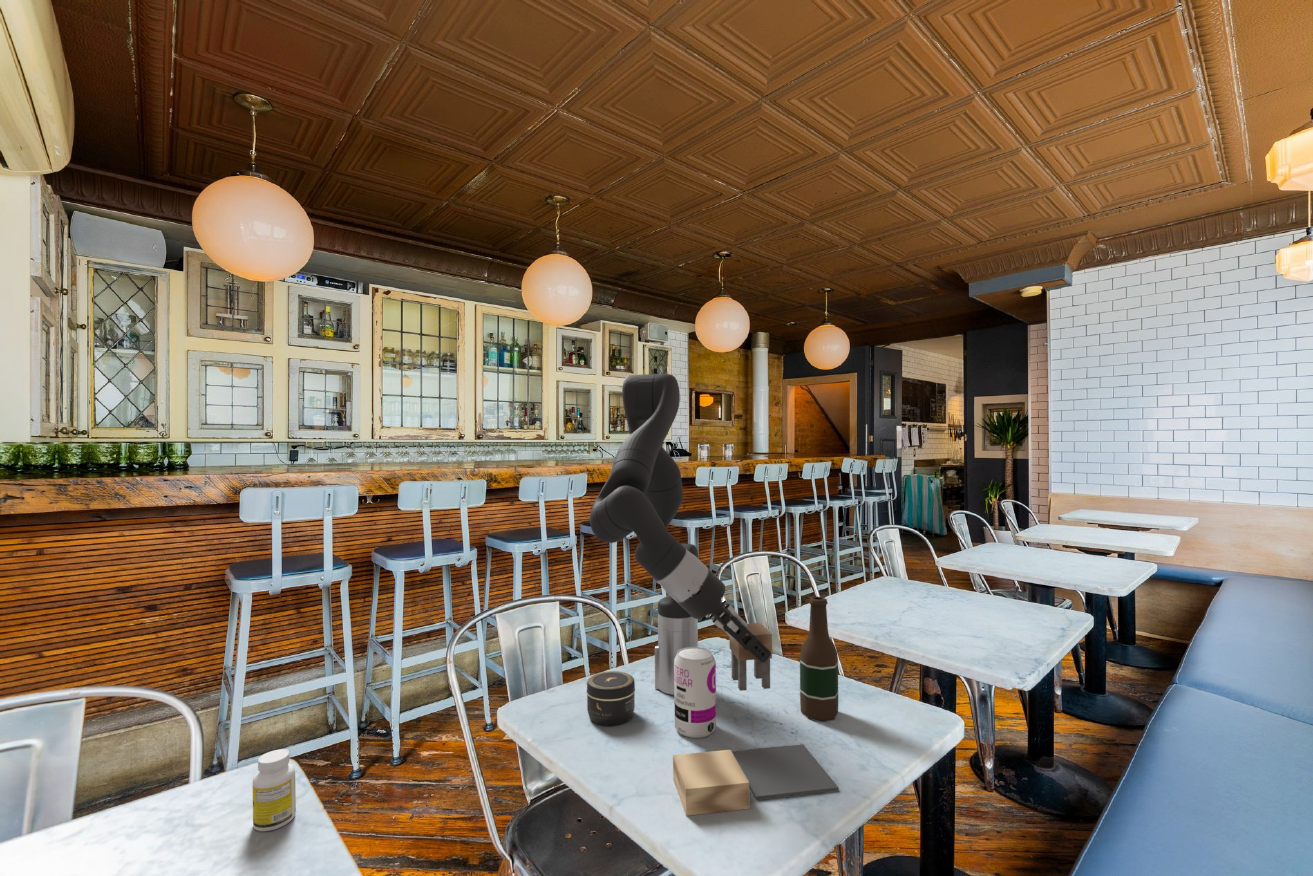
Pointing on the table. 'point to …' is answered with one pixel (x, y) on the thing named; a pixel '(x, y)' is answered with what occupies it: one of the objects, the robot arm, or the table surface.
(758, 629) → the stool
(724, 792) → the step
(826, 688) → the beer bottle
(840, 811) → the table surface
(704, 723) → the supplement can
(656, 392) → the robot arm
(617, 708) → the jar
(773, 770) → the mat
